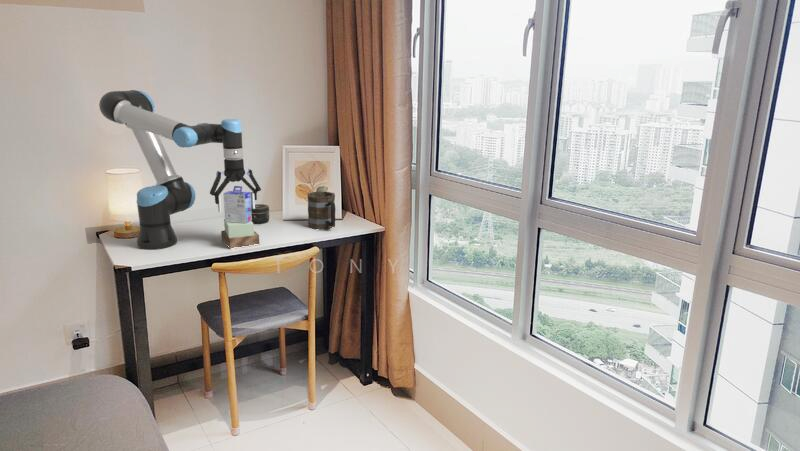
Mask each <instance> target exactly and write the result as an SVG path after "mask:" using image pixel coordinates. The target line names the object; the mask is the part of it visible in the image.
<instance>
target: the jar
mask: <svg viewBox="0 0 800 451" xmlns="http://www.w3.org/2000/svg"><path fill="white" fill-rule="evenodd" d="M251 212H252V222H253V224H254V225H264V224H267V223H268V222H269V221H270V206H269V205H267V204H262V203H260V204H259V203H258V204H256V203H255V209H253V208H252V207H251Z"/></svg>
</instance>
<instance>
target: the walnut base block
mask: <svg viewBox="0 0 800 451" xmlns="http://www.w3.org/2000/svg"><path fill="white" fill-rule="evenodd" d="M220 231H221V235H220V236H221V241H222V243H223V244H224V245H226V246H227V245H228V246H229V247H230V248H234V247H242V246H249V245H254V244H259V245H260V235H259V234H258V233H257V232H256V231H255V230H254V235H253V236H244V237H234V238H229V237H228V235H227V233H226V232H225V229H224V230H220ZM228 246H227V247H228ZM229 247H228V248H229ZM249 247H250V246H249ZM230 248H229V249H230ZM242 248H243V247H242Z"/></svg>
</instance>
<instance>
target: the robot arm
mask: <svg viewBox="0 0 800 451" xmlns="http://www.w3.org/2000/svg"><path fill="white" fill-rule="evenodd" d="M98 106H99V110H100V113H101V114H102V116H103V117H104V118H106V119H107V120H108V121H111V122H113V123H117V124H119V125H125V126H126V128H128V129H131V131H132V133H133V135H134V138H135V139H136V141H137V143H138V145H139V147H140V150H141V151H142V155H143V156H144V158H145V160H146V162H147V164H148V166H149V168H150V170H151V173H152V174H153V177H154V179H155V181H156V184H155V185H151V186H145V187H143V188H140V189H139V190H138V191H137V193H136V207H137V212H138V220H139V231H138V235H137V239H136V245H137V247H138V248H139V249H142V248H144V249H143V250H158V249H157V248H160V249H166V248H169V246H170V247H172V245H173V246H175V245H176V244H177V243H178V237H177V235H176V232H175V230H174V228H173V226H172V223H171V215H173V214H177V213H180V212H183V211H186V210H188V209H189V208H191V207H192V206H193V205H194V203H195V201H196V191H195V188H194V186H193V185H192V184H190V183H189V182H186V181H184V178H183V177H182V176H181V175H178V174H177V172H176V170H175V168H174V165H173V164H172V161H171V159H170V157H169V155H168V152H167V151H166V148H165V147H164V144H163V143H162V140H161V138H162V137H163V138H165V139H168V140H171V141H173V142H174V143H175V144H176V145H177V146H178V147H179V148H192V147H196V146H201V145H206V144H210V143H211V144H212V143H213V144H222V149H223V158H224V160H223V165H224V171H220V170H217V171H216V177H215V179H214V181H213V184H212V186H211V188H210V191H209V194H210V195H211V196H213V197H214V202H215V204H216V205H217V211H218V212H219V213H222V212H223V210H222V209H223V208H222V198H221V195H220V194H221V193H222V192H223V191H224V189H225V188H226V187H227V185H228V184H229V183H230V182H231V183H235V182H241V181H242V182H243V183H244V184H245V185H246V186H247V187H248V188H249V189H250V193H251V207H252V208H253V209H255V204H256V201H257V200H258V194H257V193H258V192H261V191H262V188H261V187H260V185H259V183H258V181H257V179H256V177H255V176H254V175H253V170H252V169H251V168H247V169H245V167H244V166H245V165H244V150H243V130H242V122H241V121H240V120H239V119H233V118H230V119H229V118H227V119H222V120H221V124H220V123H209V122H205V123H204V122H203V123H202V122H201V123H196V125H188V124H186V123H183V122H180V121H178V120H175V119H172V118H168V117H167V116H163V115H160V114H157V113H155V103H154V101H153V99H152V97H151V96H150V95H149V94H148V93H146V92H144V91H142V90H135V89H131V90H114V91H113V90H112V91H109V92H107V93H105V94H104V95H102V96H101V98H100V100H99V104H98ZM160 137H161V138H160ZM245 175H247V176H248V178H250V180H251V182H252V184H253V185H254V186H253V185H252V184H251V183H250V182H249V181H248V180H247V179H246V178H245V177H244V176H245ZM223 176H224V177H225V178H223ZM221 178H223V181H222V182H221ZM220 182H221V184H220ZM219 184H220V185H219ZM218 186H219V187H218ZM165 247H166V248H165Z"/></svg>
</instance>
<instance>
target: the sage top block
mask: <svg viewBox="0 0 800 451" xmlns="http://www.w3.org/2000/svg"><path fill="white" fill-rule="evenodd" d="M223 222H224V224H223V225H224V230H225V232H226V233H227V235H228V237H229V238H234V237H244V236H253V235H254V231H255V229H254V228H255V227H254V226H255V224H253V222H252V221H249V222H247V223H238V222H225V218H224V219H223Z"/></svg>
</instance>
